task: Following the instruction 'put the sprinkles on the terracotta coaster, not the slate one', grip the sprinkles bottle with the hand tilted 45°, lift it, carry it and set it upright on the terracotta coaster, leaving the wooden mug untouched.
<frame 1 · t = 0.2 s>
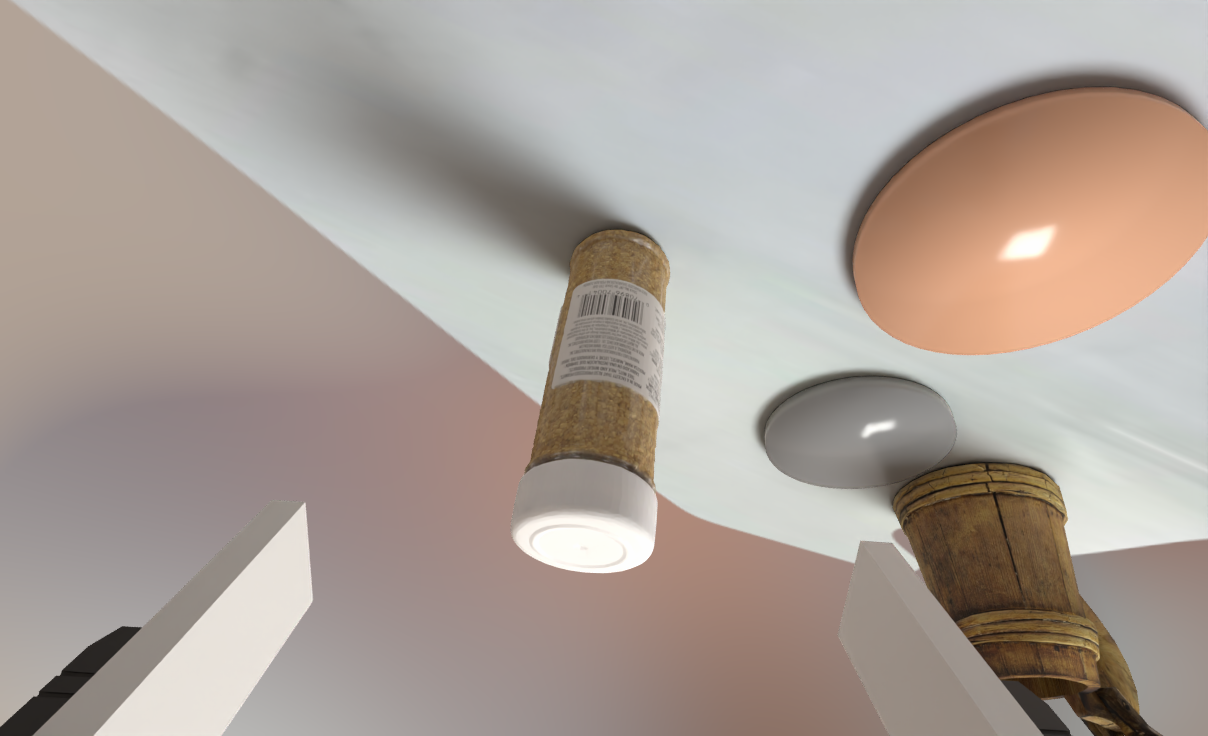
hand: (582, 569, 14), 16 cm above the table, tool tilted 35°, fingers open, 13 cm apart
sprinkles bottle: (622, 263, 27), on the table
terracotta coaster: (1014, 238, 24), on the table
slate coaster: (854, 432, 35), on the table
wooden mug: (1000, 503, 39), on the table
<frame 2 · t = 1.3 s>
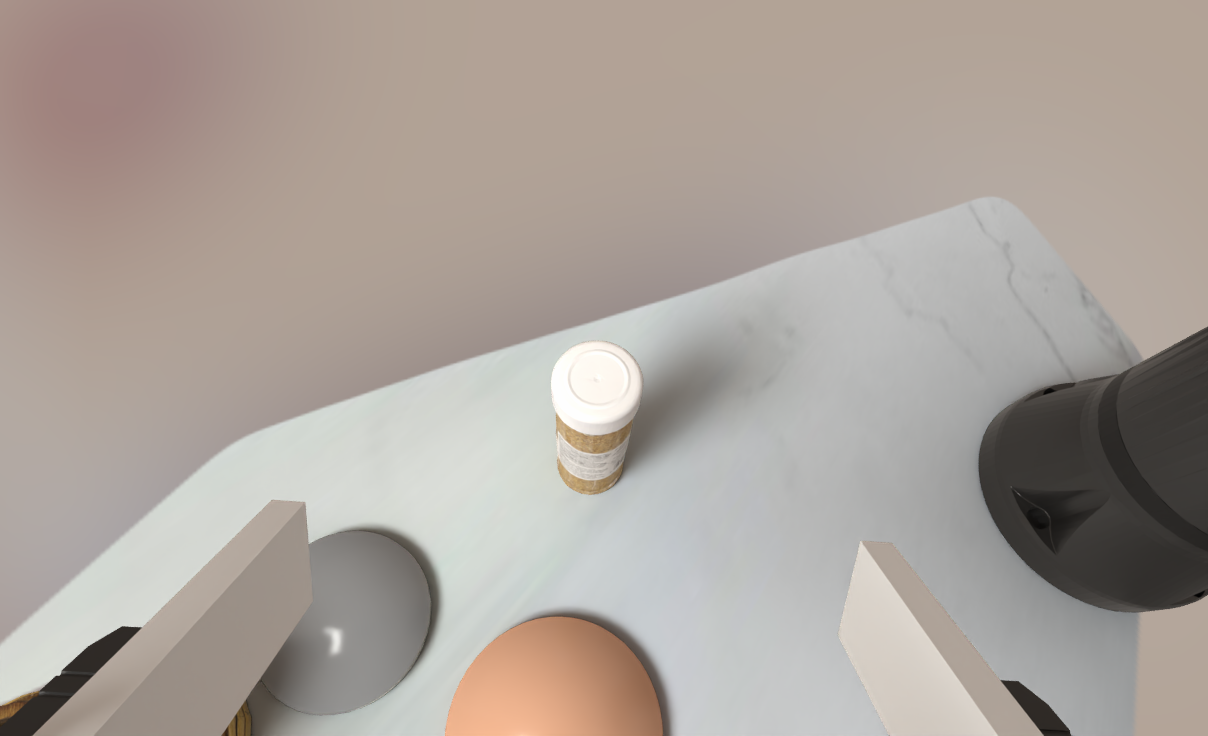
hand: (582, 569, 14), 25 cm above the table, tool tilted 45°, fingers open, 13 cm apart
sprinkles bottle: (589, 465, 42), on the table
terracotta coaster: (555, 732, 34), on the table
slate coaster: (346, 618, 36), on the table
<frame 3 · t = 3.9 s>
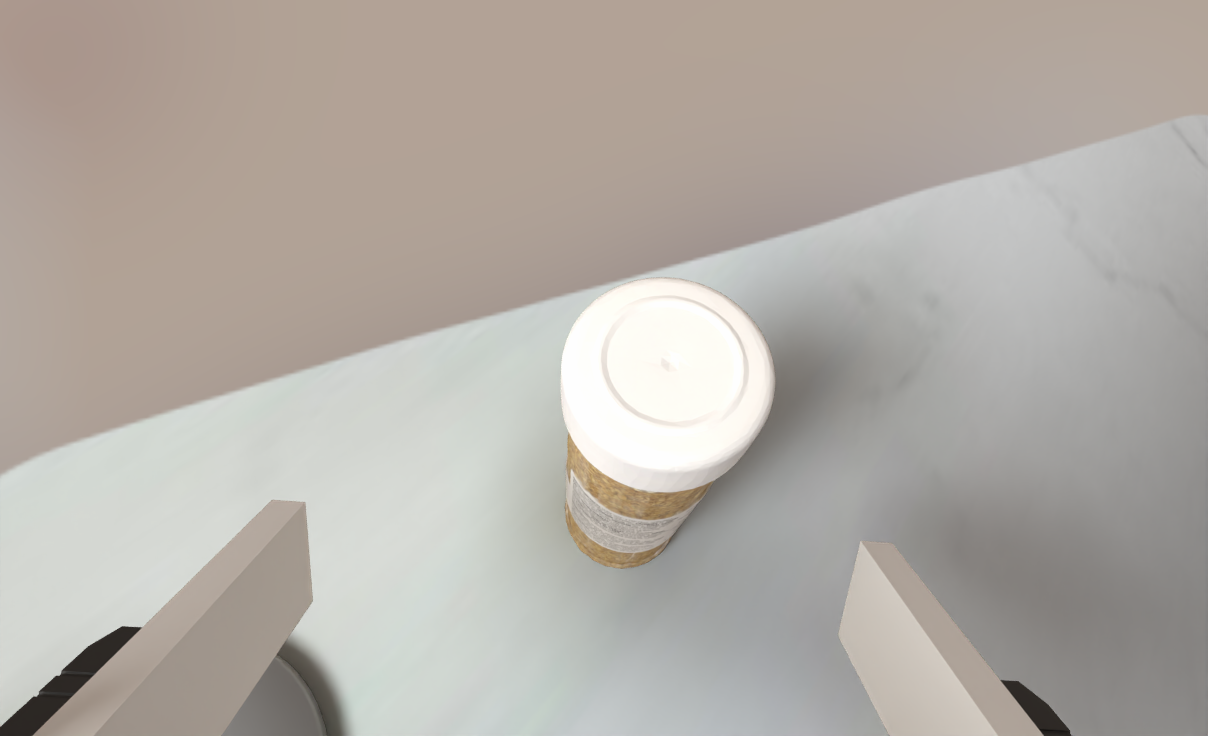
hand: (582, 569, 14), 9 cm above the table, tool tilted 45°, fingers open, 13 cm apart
sprinkles bottle: (620, 514, 25), on the table
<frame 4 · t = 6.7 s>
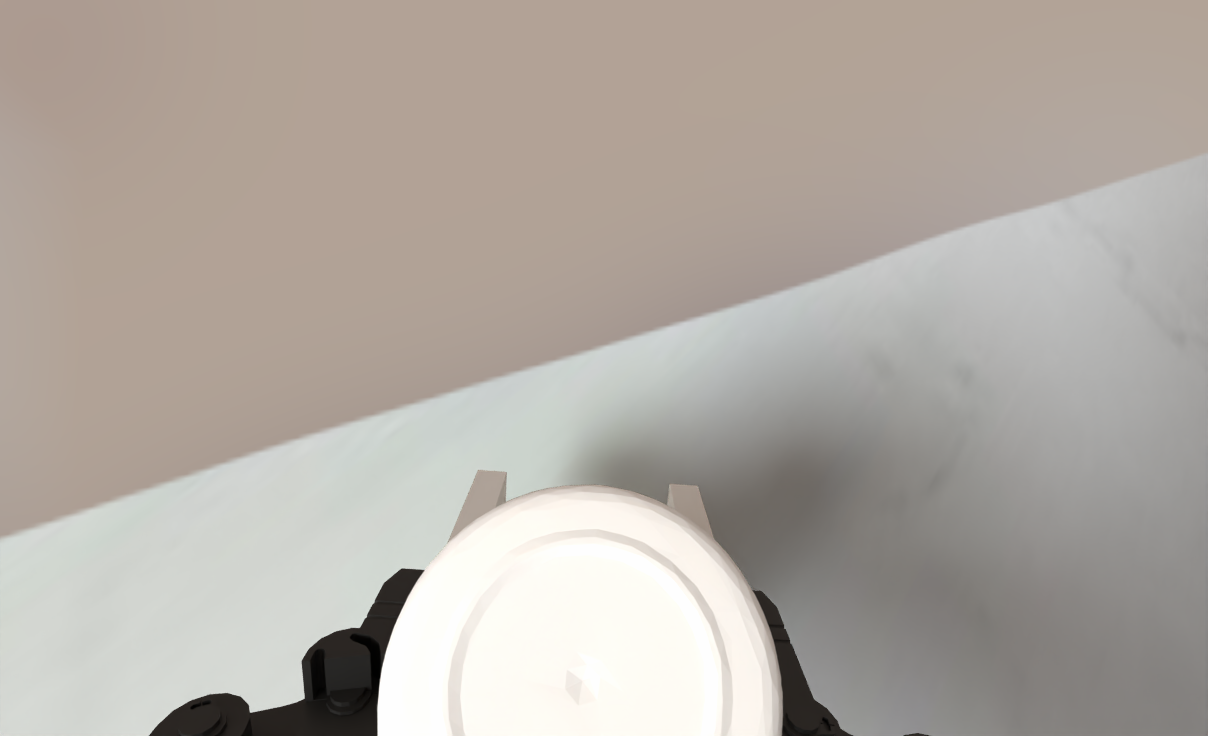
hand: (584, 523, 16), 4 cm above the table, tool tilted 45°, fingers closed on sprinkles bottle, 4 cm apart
sprinkles bottle: (571, 680, 19), on the table, touching gripper
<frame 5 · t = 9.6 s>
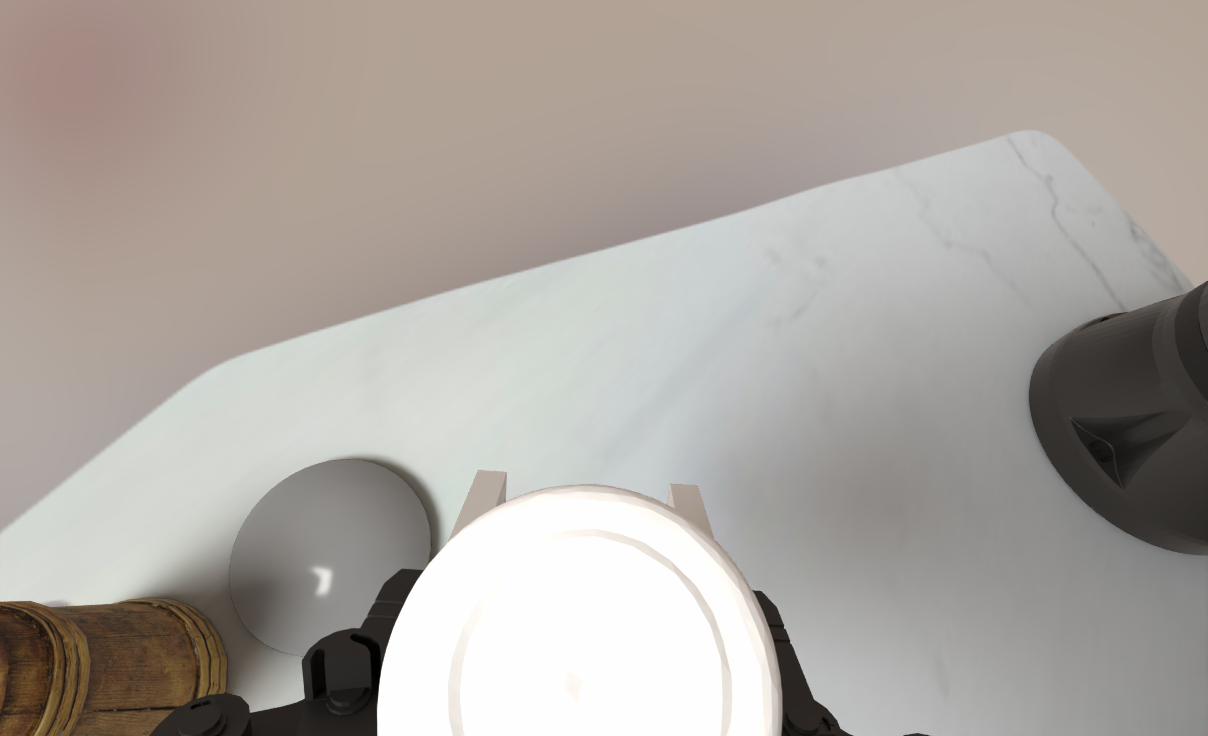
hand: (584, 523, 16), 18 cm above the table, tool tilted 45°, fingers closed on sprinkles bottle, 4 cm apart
sprinkles bottle: (571, 680, 19), point 13 cm above the table, touching gripper
slate coaster: (335, 553, 32), on the table
when the fingers open (6 cm above the table, at t = 12.7 s): sprinkles bottle drops 1 cm, resting on terracotta coaster.
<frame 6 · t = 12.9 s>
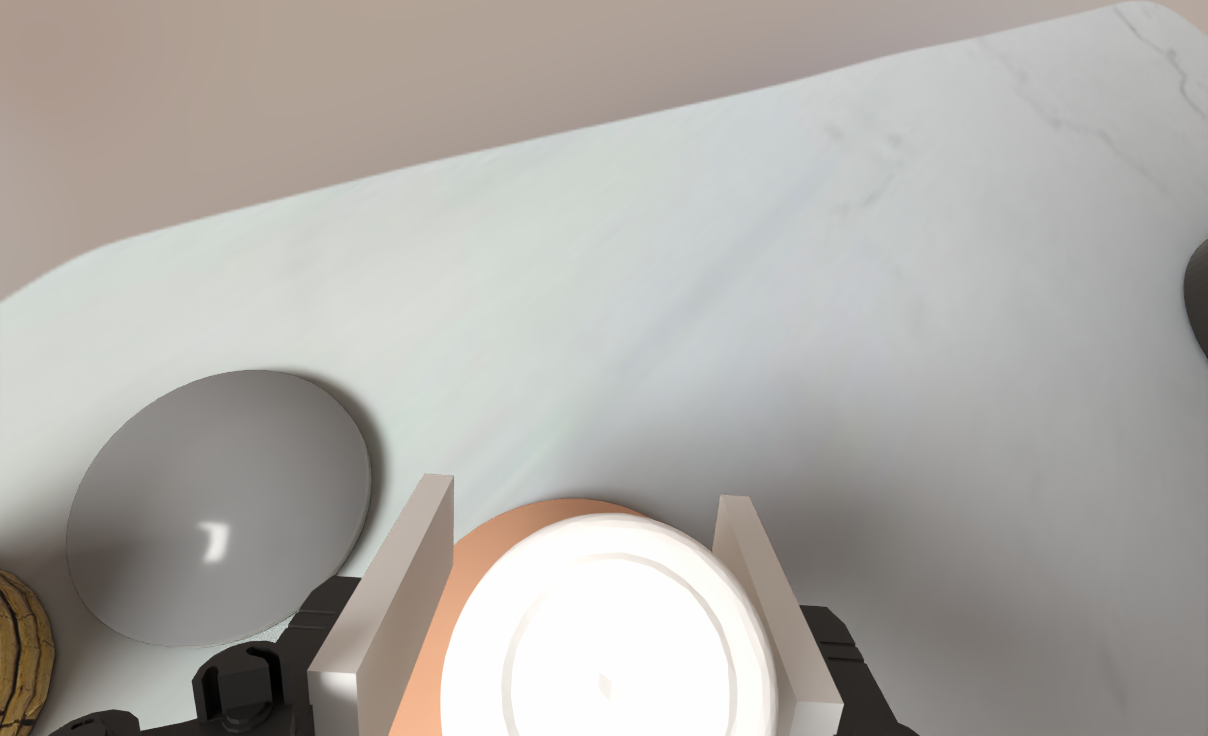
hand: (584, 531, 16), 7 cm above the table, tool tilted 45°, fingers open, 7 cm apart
sprinkles bottle: (576, 681, 20), point 1 cm above the table, touching terracotta coaster
terracotta coaster: (570, 680, 20), on the table
slate coaster: (232, 499, 23), on the table
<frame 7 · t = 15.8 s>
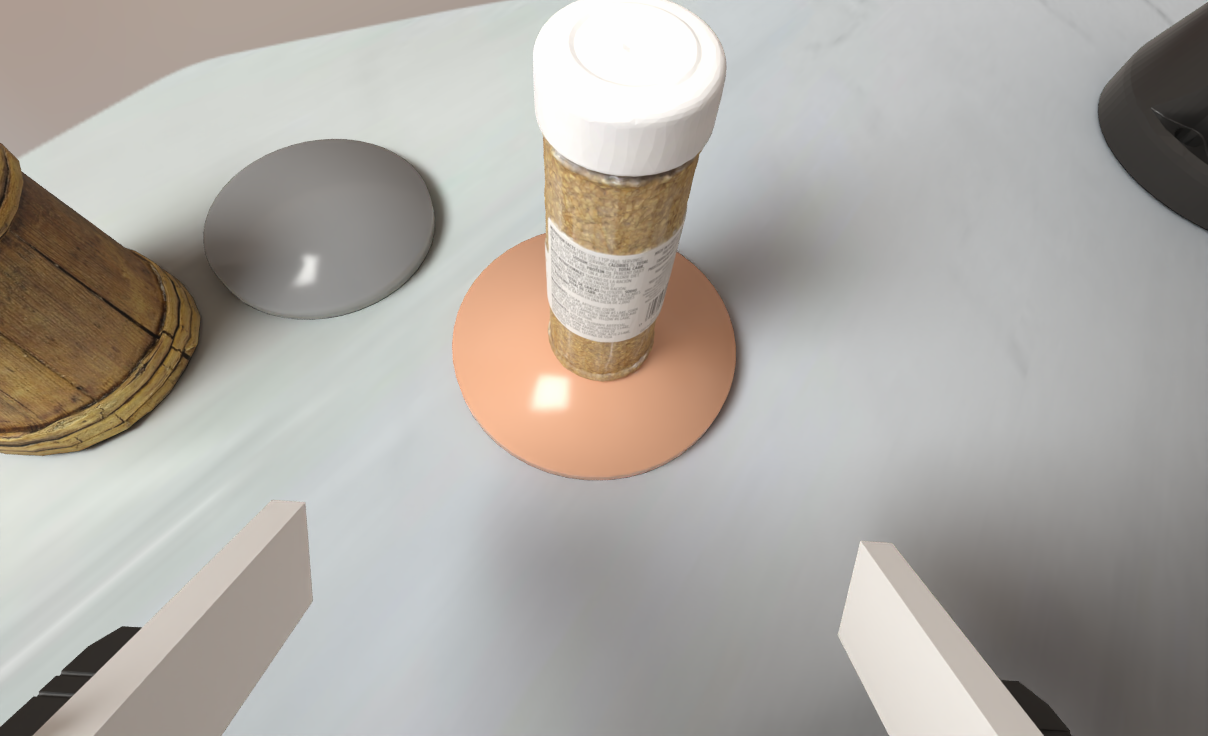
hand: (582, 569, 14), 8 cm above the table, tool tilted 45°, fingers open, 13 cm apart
sprinkles bottle: (600, 340, 26), point 1 cm above the table, touching terracotta coaster
terracotta coaster: (595, 346, 26), on the table
slate coaster: (326, 228, 29), on the table
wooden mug: (37, 395, 24), on the table
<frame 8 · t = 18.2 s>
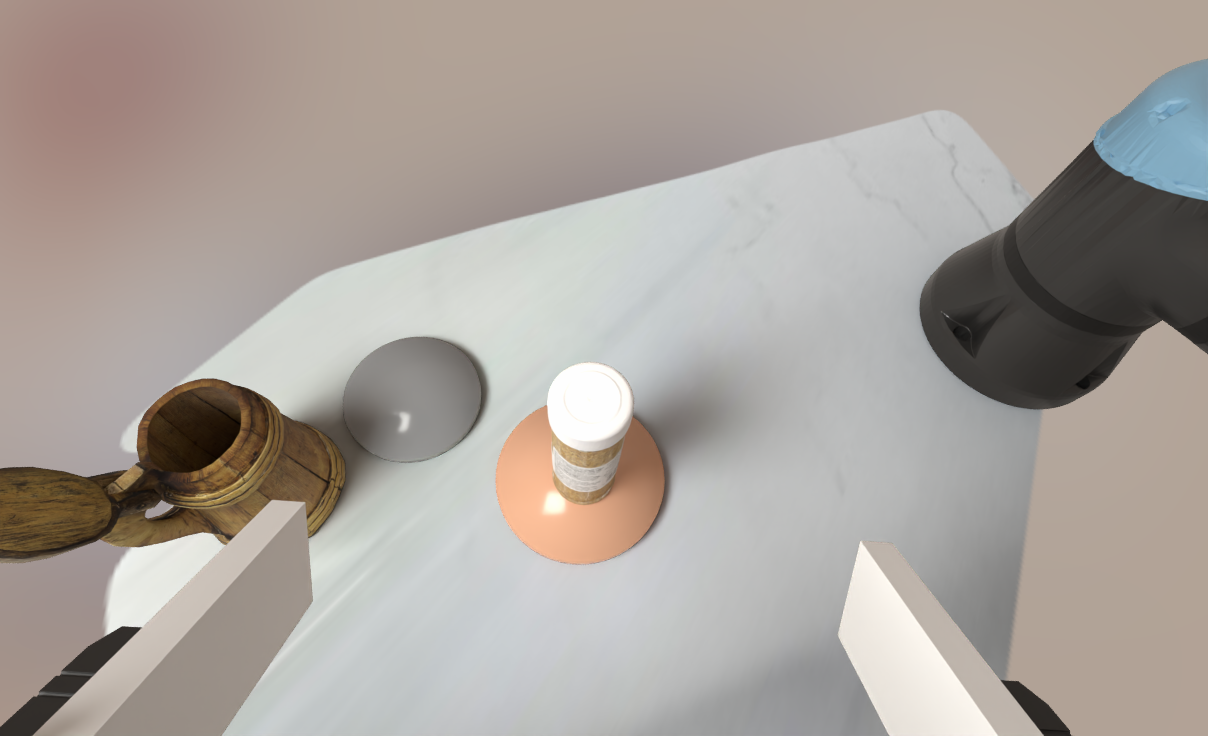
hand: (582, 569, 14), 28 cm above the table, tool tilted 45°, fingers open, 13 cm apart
sprinkles bottle: (583, 476, 43), point 1 cm above the table, touching terracotta coaster
terracotta coaster: (580, 478, 44), on the table
slate coaster: (414, 399, 46), on the table
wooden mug: (255, 513, 42), on the table
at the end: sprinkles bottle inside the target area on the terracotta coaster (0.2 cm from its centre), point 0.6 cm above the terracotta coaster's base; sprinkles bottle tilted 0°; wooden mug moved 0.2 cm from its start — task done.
